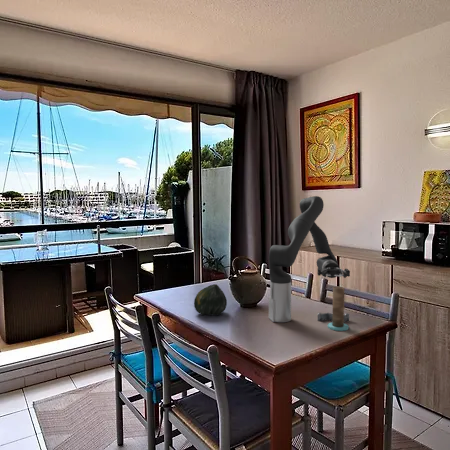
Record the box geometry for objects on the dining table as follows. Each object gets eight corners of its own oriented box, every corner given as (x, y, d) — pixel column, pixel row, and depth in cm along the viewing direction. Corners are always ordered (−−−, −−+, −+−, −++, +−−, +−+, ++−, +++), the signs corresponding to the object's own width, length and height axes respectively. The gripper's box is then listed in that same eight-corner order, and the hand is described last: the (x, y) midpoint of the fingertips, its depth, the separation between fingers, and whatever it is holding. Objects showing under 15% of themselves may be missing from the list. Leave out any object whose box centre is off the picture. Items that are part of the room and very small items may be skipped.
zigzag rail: (318, 322, 168) (318, 315, 168) (316, 318, 173) (316, 311, 173) (350, 322, 167) (350, 315, 167) (347, 319, 172) (347, 312, 172)
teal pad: (333, 331, 156) (333, 329, 156) (324, 324, 165) (324, 323, 165) (352, 330, 158) (352, 328, 158) (342, 323, 166) (342, 321, 166)
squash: (188, 299, 186) (196, 280, 176) (215, 296, 193) (225, 278, 183) (196, 324, 177) (205, 306, 168) (225, 321, 184) (236, 303, 174)
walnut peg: (335, 327, 159) (336, 289, 157) (330, 324, 163) (331, 286, 162) (345, 326, 160) (346, 288, 158) (340, 323, 164) (341, 286, 163)
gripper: (315, 260, 187) (318, 266, 171) (346, 261, 185) (352, 267, 169) (315, 275, 188) (318, 283, 172) (345, 276, 186) (351, 284, 170)
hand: (335, 275), depth 171 cm, fingers open, 8 cm apart
